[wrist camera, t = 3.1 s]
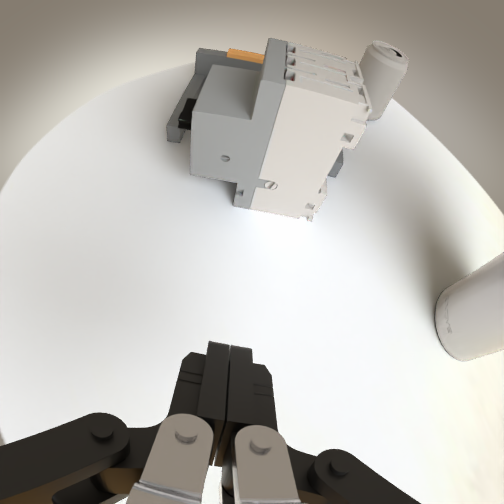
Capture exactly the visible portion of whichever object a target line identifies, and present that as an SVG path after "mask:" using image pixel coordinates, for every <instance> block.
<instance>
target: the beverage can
mask: <svg viewBox="0 0 504 504" xmlns="http://www.w3.org/2000/svg"><path fill="white" fill-rule="evenodd" d="M408 62H409V59H408V57H407V56H406V55H405V54H404V53H403V52H402V51H400V50H399V49H397V48H396V47H394V46H392V45H390V44H388V43H385V42H382V41H378V40H375V41H373V42H372V44H371V45H369V46H368V47H367V49H366V51H365V53H364V55H363V58H362V60H361V62H360V64H359V67H360V70H361V73H362V76H363V79H364V81H363V85H366V89H367V92H368V95H369V99H370V102H371V106H372V109H373V110H372V113H369V115H368V118H367V120H377V119H379V118H380V117H381V115H382V114H383V112H384V110H385V108H386V107H387V105H388V103H389V101H390V100H391V98H392V96H393V94H394V93H395V91H396V89H397V87H398V85H399V83H400V82H401V80H402V78H403V76H404V75H405V73H406V71H407V69H408V66H407V63H408Z"/></svg>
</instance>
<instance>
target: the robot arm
mask: <svg viewBox="0 0 504 504" xmlns="http://www.w3.org/2000/svg"><path fill="white" fill-rule="evenodd" d="M435 321H436V328H437V332H438V336H439V338H440V341H441V343H442V345H443V346H444V348H445V350H446V351H447V352H448V353H449V354H450V355H451V356H452V357H454V358H455V359H457V360H460V361H469V360H473V359H476V358H479V357H482V356H486V355H489V354H492V353H495V352H498V351H501V350H504V252H503V253H501V254H500V255H498V256H497V257H495V258H494V259H492V260H491V261H489V262H488V263H486V264H485V265H483V266H482V267H480V268H479V269H477V270H476V271H474V272H472V273H471V274H469V275H468V276H466V277H464V278H463V279H461V280H460V281H458V282H456V283H455V284H453V285H451V286H450V287H448V288H446V289H445V290H444V291H443V292H442V294H441V295H440V296H439V299H438V301H437V305H436V310H435ZM229 348H230V350H229ZM272 387H273V384H272V375H271V374H270V372H269V371H268V369H267V368H266V366H265V365H261V364H255V363H253V358H252V349H251V348H245V347H239V346H233V345H231V346H230V345H228V344H222V343H217V342H212V341H209V343H208V348H207V353H206V355H204V354H199V353H194V352H190V353H189V354H188V355H187V356H186V357H185V358H184V359H183V360H182V364H181V367H180V372H179V375H178V379H177V382H176V386H175V390H174V394H173V398H172V402H171V405H170V409H169V413H168V415H167V417H166V418H165V419H164V420H163V421H162V422H161V423H159V424H157V425H155V426H152V427H147V428H127V426H126V425H125V423H124V422H123V421H122V420H120V419H119V418H118V417H116V416H114V415H111V414H107V413H92V414H88V415H86V416H83V417H81V418H78V419H76V420H73V421H71V422H68V423H65V424H63V425H60V426H58V427H55V428H52V429H49V430H47V431H44V432H41V433H38V434H36V435H33V436H30V437H27V438H24V439H21V440H18V441H15V442H12V443H9V444H6V445H3V446H0V504H114V503H116V502H118V501H120V500H122V499H124V498H126V497H127V496H128V499H127V502H126V504H201V501H202V500H201V498H202V493H203V488H204V483H205V478H206V474H207V471H208V467H209V465H211V466H212V464H213V460H214V457H215V462H214V466H219V467H222V478H221V481H220V484H219V504H421V503H419V502H418V501H416V500H415V499H413V498H412V497H410V496H409V495H407V494H406V493H404V492H403V491H401V490H400V489H399V488H397V487H396V486H394V485H393V484H391V483H390V482H389V481H387V480H386V479H384V478H383V477H382V476H380V475H379V474H377V473H376V472H375V471H373V470H372V469H371V468H369V467H368V466H367V465H365V464H364V463H363V462H361V461H360V460H359V459H357V458H356V457H355V456H353V455H352V454H350V453H348V452H346V451H343V450H339V449H329V450H326V451H323V452H321V453H320V454H319V455H318V456H313V455H310V454H307V453H303V452H300V451H297V450H295V449H293V448H291V447H290V446H288V445H287V444H286V442H285V440H284V438H283V437H282V436H281V435H280V434H279V433H278V429H277V420H276V411H275V402H274V397H273V396H274V393H273V388H272Z"/></svg>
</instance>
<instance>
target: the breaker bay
mask: <svg viewBox="0 0 504 504" xmlns="http://www.w3.org/2000/svg"><path fill="white" fill-rule="evenodd" d="M263 60H264V55H262V54H257V53H252V52H247V51H242V50H236V49H229V51H228V52H224V51H218V50H211V49H203V48H199V50H198V51H197V52H196V63H195V74H194V76H193V78H192V79H191V81H190V83H189V85H188V86H187V88H186V90H185V92H184V94H183V95H182V97H181V99H180V101H179V103H178V105H177V107H176V108H175V110H174V112H173V114H172V116H171V118H170V120H169V122H168V124H167V141H170V142H177V143H180V141H181V139H182V137H183V134H184V132H185V130H186V129H180V128H178V124H179V121H178V118H179V115H180V113H181V112H182V111H183V108H184V106H185V103H186V100H187V98H192V99H198V97H199V94H200V92H201V90H202V87H203V85H204V83H205V80H206V78H207V76H208V74H209V71H210V69H211V67H212V65H213V64H214V65H222V66H229V67H235V68H242V69H248V70H253V71H259V72H260V71H261V68H262V64H263ZM342 165H343V152H342V150H341V151H340V153H339V155H338V157H337V159H336V161H335V163H334V164H333V166H332V168H331V170H330V172H329V174H328V176H332V177H336V176H337V174H338V172H339V170H340V169H341V167H342Z"/></svg>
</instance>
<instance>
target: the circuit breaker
mask: <svg viewBox="0 0 504 504" xmlns="http://www.w3.org/2000/svg"><path fill="white" fill-rule="evenodd" d="M363 81H364V79H363V76H362V73H361V70H360V67H359V64H358V62H357V61H355V62H352V61H349V60H347V58H345V57H342V56H339V55H335V54H332V53H329V52H325V51H322V50H318V49H314V48H311V47H307V46H303V45H299V44H295V43H291V42H287V41H282V40H278V39H273V38H269V39H268V43H267V47H266V51H265V55H264V60H263V64H262V68H261V71H260V72H259V71H253V70H248V69H242V68H235V67H229V66H222V65H214V64H213V65H212V67H211V69H210V71H209V74H208V76H207V78H206V80H205V83H204V85H203V87H202V90H201V92H200V94H199V97H198V99H192V98H187V100H186V103H185V106H184V108H183V111H182V112H181V113H180V115H179V118H178V121H179V124H178V128H180V129H186V130H191V153H190V174H191V175H194V176H200V177H206V178H212V179H217V180H223V181H228V182H234V183H237V187H236V192H235V198H234V204H233V206H234V207H240V208H245V209H249V208H250V209H251V210H256V211H261V212H267V213H272V214H277V215H282V216H287V217H292V218H297V219H299V218H300V216H303V217H307V221H312V219H313V215H314V213H317V211H318V210H319V208H320V206H321V205H322V203H323V201H324V200H325V198H326V196H327V182H326V177H327V175H328V174H329V172H330V170H331V168H332V166H333V164H334V163H335V161H336V159H337V157H338V155H339V153H340V151H341V150H342V148H343V147H345V148H348V149H352V150H354V149H355V147H356V145H357V143H358V142H359V140H360V138H361V136H362V135H363V133H364V131H365V128H366V126H367V125H366V121H367V118H368V115H369V113H372V110H373V109H372V106H371V102H370V99H369V95H368V92H367V89H366V85H363ZM313 205H314V206H313Z"/></svg>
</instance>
